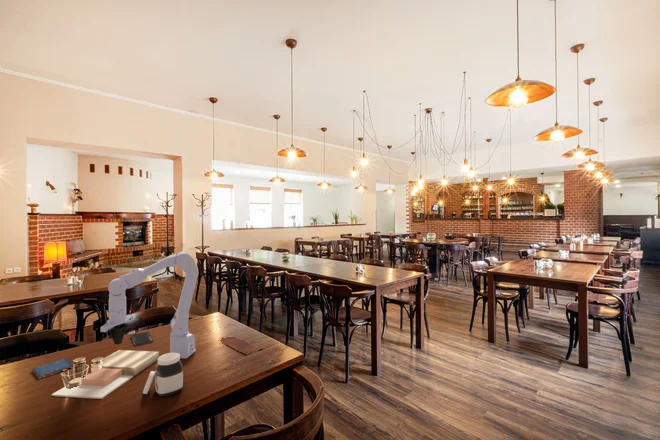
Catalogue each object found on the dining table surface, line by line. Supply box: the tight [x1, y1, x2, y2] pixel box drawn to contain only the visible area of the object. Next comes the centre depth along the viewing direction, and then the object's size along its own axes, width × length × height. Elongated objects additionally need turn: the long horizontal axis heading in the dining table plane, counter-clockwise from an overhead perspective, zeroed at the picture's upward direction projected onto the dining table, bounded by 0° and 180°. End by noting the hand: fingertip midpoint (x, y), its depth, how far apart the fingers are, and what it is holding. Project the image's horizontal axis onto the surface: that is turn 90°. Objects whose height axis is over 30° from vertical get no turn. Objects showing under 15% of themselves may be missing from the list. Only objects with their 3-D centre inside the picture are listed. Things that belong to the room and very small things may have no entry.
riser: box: [102, 349, 160, 377], centre depth 124 cm, size 18×14×3 cm
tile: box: [81, 368, 123, 386], centre depth 112 cm, size 9×8×2 cm
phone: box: [130, 331, 154, 347], centre depth 151 cm, size 8×1×15 cm
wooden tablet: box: [220, 336, 254, 354], centre depth 145 cm, size 27×10×2 cm, turn 48°
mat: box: [51, 372, 134, 400], centre depth 109 cm, size 18×14×1 cm
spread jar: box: [142, 352, 184, 397], centre depth 105 cm, size 12×11×12 cm
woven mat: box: [31, 358, 74, 380], centre depth 120 cm, size 10×11×2 cm
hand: (117, 343), depth 123 cm, fingers closed
